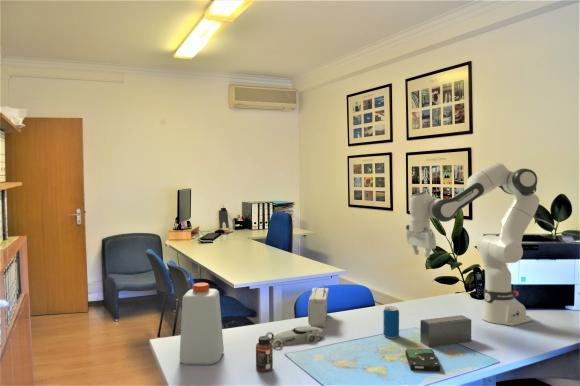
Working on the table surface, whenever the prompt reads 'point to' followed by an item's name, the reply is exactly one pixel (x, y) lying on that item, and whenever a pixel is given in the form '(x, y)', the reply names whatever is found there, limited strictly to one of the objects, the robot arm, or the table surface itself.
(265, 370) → the supplement bottle
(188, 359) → the plastic bottle
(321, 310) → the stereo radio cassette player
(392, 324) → the beverage can
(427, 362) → the disk drive
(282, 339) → the car model
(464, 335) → the box
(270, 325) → the table surface
